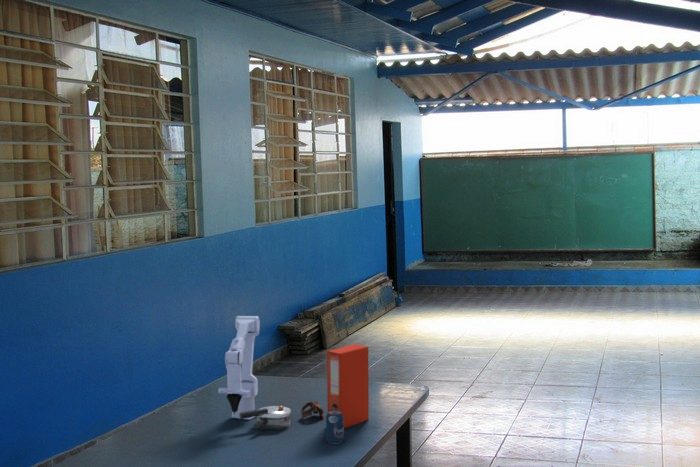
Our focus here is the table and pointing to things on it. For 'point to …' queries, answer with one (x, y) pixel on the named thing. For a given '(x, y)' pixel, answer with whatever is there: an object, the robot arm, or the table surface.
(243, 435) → the table surface
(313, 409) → the pottery mug
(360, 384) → the file binder
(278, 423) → the cooker pot
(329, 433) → the soda can
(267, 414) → the cooker lid
